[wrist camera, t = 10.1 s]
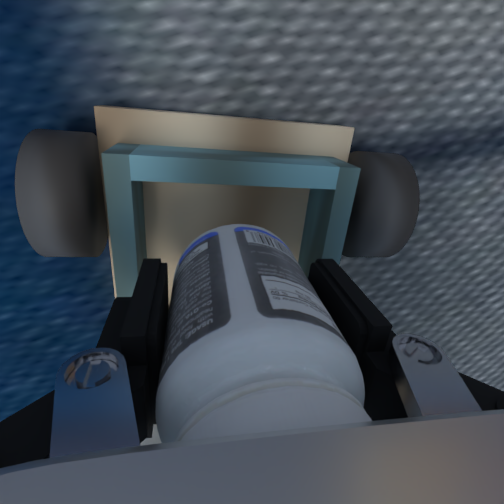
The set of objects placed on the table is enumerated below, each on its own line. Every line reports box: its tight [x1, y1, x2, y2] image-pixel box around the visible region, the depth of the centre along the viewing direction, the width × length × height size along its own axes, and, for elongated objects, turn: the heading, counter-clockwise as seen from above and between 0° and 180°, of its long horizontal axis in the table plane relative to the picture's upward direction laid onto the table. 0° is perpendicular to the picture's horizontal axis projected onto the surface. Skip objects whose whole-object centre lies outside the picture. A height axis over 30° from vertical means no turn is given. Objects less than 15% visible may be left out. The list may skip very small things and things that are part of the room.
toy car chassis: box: [15, 105, 420, 446], centre depth 15 cm, size 13×20×5 cm, turn 175°
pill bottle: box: [155, 224, 372, 443], centre depth 9 cm, size 5×5×8 cm
